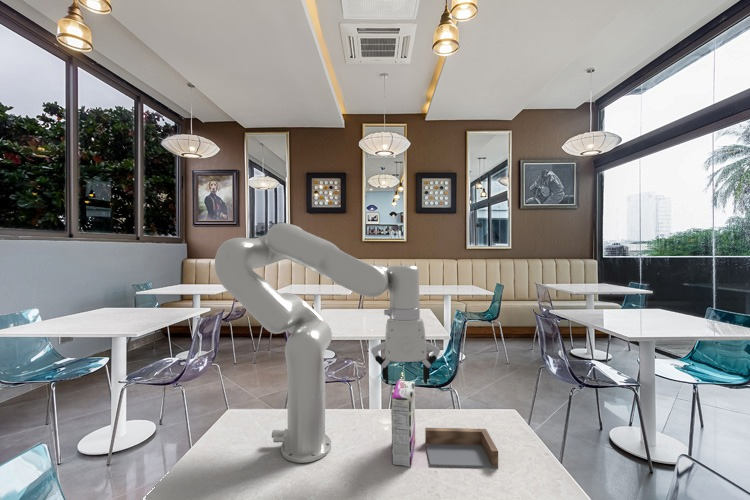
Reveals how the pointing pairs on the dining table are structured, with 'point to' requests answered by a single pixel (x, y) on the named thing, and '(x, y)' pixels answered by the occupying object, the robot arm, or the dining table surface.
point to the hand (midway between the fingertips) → (406, 381)
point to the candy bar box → (403, 423)
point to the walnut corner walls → (463, 439)
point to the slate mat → (457, 456)
